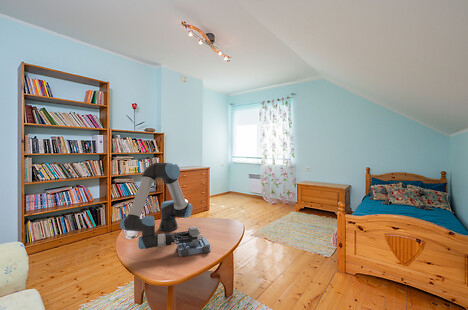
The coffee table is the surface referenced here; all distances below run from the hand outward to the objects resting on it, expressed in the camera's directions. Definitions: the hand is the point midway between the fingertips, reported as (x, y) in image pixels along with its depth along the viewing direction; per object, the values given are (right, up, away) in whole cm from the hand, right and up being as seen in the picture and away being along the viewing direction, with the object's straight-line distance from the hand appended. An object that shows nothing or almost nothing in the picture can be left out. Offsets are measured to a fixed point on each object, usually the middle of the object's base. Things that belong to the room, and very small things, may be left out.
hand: (201, 234), depth 142 cm
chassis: (-5, -9, -2) cm, 11 cm away
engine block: (-5, -7, -2) cm, 8 cm away
